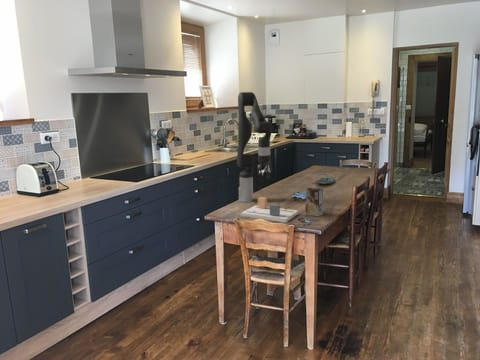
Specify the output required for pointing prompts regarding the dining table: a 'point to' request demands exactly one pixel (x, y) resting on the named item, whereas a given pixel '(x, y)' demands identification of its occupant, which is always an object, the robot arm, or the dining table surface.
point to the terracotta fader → (262, 202)
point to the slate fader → (275, 209)
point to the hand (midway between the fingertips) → (264, 180)
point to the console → (265, 214)
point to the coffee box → (314, 201)
